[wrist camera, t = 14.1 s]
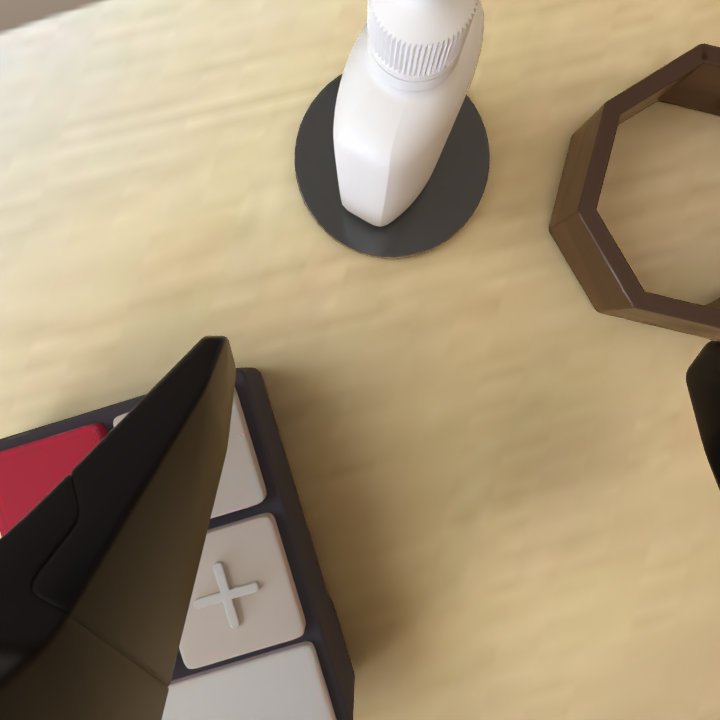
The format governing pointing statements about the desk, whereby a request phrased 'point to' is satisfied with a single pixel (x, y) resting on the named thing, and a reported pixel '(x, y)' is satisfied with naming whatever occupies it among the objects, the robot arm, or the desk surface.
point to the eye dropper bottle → (402, 100)
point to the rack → (583, 187)
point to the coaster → (428, 211)
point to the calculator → (225, 571)
